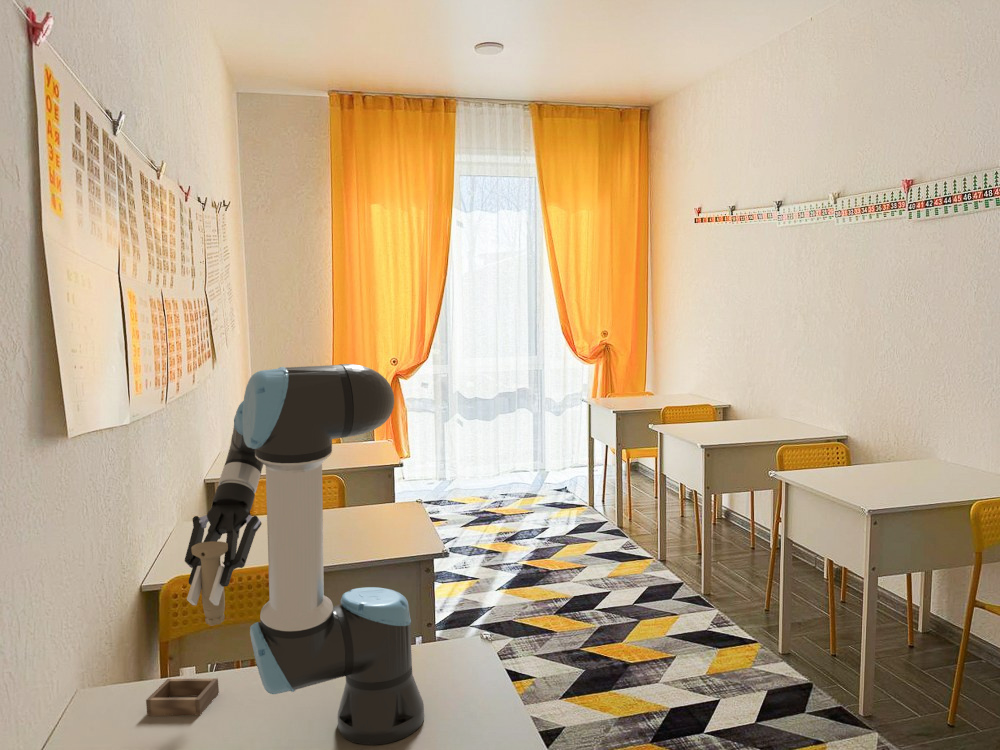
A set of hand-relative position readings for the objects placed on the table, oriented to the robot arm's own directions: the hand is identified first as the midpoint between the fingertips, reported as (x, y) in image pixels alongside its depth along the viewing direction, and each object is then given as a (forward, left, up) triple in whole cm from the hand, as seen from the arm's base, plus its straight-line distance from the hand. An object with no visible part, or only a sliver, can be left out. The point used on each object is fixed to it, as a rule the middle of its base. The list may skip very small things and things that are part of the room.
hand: (202, 602), depth 134 cm
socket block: (+6, -2, -21) cm, 22 cm away
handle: (0, -4, -6) cm, 7 cm away
